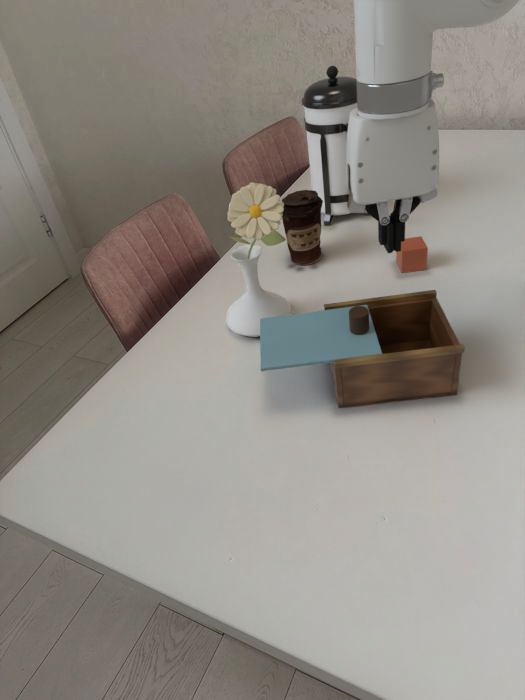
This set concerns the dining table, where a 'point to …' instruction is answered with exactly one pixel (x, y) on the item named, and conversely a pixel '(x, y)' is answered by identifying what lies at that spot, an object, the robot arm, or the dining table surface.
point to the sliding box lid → (317, 337)
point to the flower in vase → (254, 256)
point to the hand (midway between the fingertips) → (391, 247)
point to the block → (412, 255)
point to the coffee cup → (303, 226)
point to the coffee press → (329, 139)
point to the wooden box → (401, 353)
